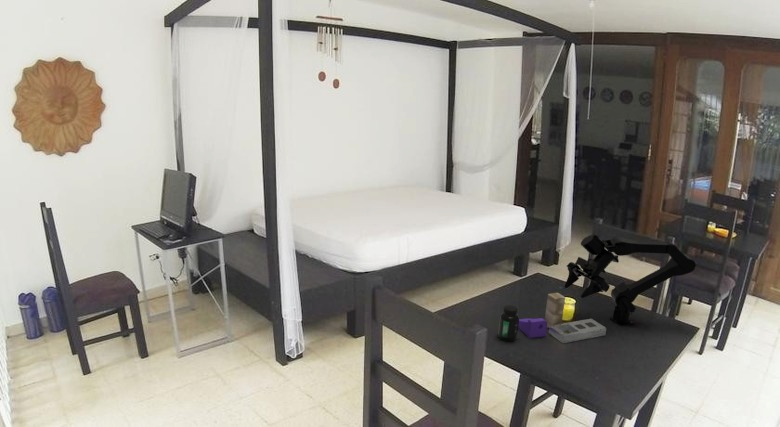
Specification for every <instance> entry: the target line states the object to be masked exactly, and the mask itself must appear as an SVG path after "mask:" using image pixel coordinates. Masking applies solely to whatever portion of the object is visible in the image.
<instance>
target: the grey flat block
mask: <svg viewBox="0 0 780 427" xmlns="http://www.w3.org/2000/svg"><path fill="white" fill-rule="evenodd" d="M566 332H568V333H566ZM548 334H549V335H550V336H552V337H553V338H554V339H556V340H557V341H558V342H560V343H561V344H567V343H572V342H577V341H583V340H588V339H592V338H599V337H603V336H606V334H607V327H605V326H604V325H603V324H601V323H599V322H597V321H596V320H594V319H593V318H589V319H588V318H587V319H580V320H576V321H570V322H564V323H563V322H562V324H558V325H552V326H549V329H548Z"/></svg>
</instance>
